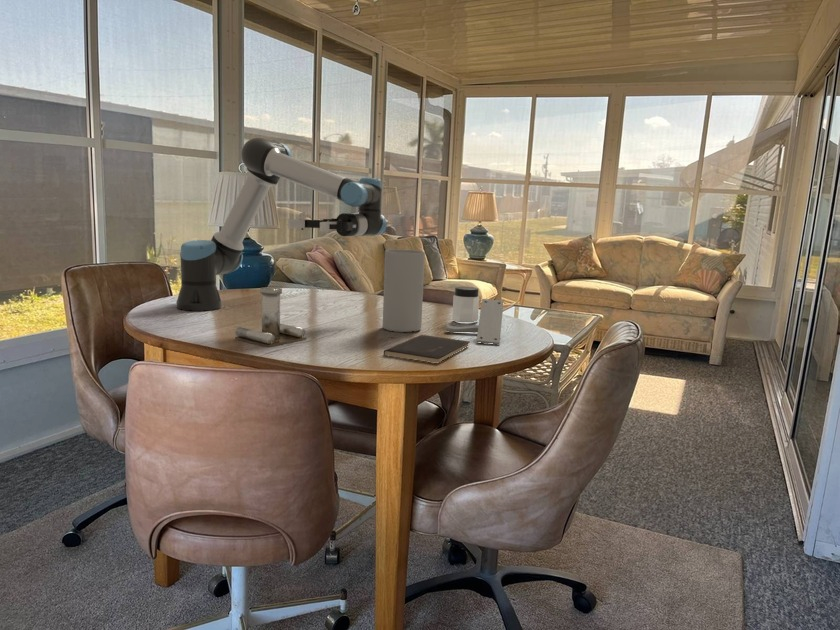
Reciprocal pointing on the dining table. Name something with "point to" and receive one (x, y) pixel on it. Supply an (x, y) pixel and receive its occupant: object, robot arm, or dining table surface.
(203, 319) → the dining table surface
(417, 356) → the hardcover book
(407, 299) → the cylinder vase
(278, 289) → the hinge pin
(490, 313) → the door handle
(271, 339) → the hinge leaf
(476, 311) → the jar
